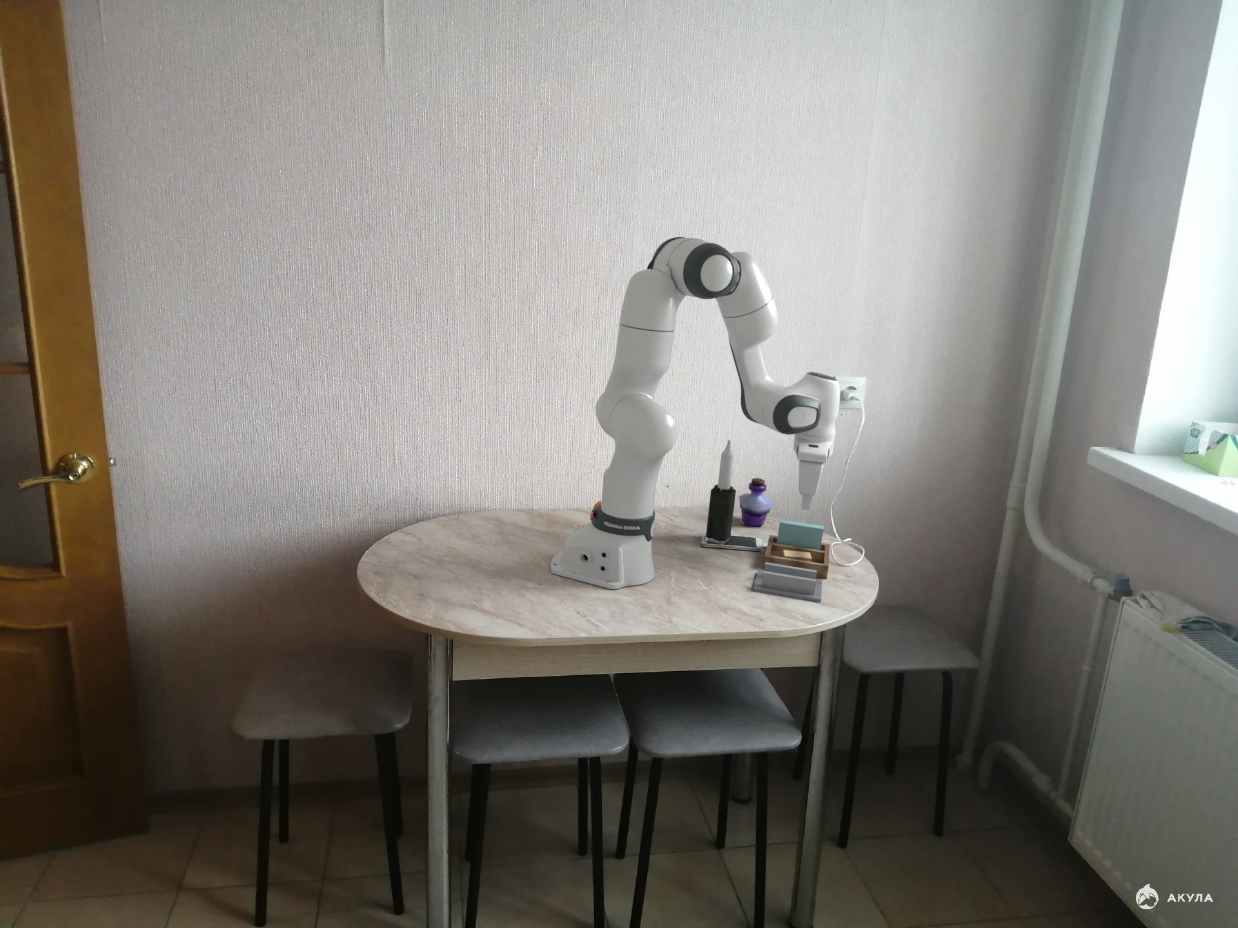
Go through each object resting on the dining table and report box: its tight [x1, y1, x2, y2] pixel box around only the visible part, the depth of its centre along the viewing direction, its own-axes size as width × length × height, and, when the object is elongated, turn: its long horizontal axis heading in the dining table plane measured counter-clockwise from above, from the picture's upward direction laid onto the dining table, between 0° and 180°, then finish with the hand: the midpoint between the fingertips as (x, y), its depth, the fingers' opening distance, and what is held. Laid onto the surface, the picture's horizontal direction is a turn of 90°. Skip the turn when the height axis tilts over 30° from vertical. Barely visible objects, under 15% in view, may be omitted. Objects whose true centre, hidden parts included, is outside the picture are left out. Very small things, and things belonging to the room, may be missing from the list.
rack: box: [762, 534, 831, 580], centre depth 203 cm, size 14×14×3 cm
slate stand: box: [752, 562, 823, 603], centre depth 189 cm, size 14×10×4 cm
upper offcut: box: [782, 550, 812, 562], centre depth 200 cm, size 6×4×2 cm, turn 86°
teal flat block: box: [777, 519, 825, 550], centre depth 206 cm, size 10×2×8 cm, turn 77°
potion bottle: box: [738, 477, 774, 528], centre depth 224 cm, size 9×9×12 cm
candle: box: [705, 439, 737, 541], centre depth 209 cm, size 5×5×25 cm
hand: (806, 502), depth 203 cm, fingers open, 8 cm apart
